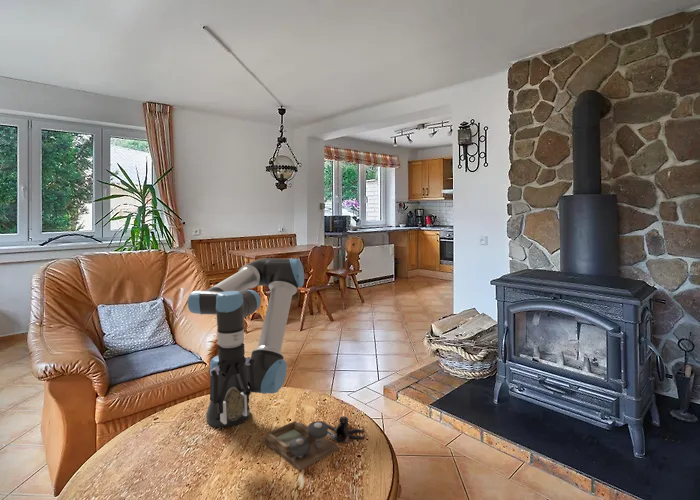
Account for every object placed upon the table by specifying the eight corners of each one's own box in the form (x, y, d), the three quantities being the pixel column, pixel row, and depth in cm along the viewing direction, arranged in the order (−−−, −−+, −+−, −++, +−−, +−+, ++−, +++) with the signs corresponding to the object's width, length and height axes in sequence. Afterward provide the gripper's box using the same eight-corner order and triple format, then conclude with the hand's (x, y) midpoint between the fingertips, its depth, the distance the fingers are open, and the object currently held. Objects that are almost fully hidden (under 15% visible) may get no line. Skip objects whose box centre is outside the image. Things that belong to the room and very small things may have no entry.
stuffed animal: (364, 442, 126) (333, 419, 127) (347, 464, 127) (317, 442, 128) (368, 422, 137) (339, 402, 138) (352, 443, 139) (324, 423, 140)
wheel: (304, 432, 123) (304, 424, 122) (319, 425, 127) (319, 417, 126) (316, 440, 118) (316, 431, 118) (331, 433, 122) (331, 424, 122)
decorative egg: (224, 426, 115) (223, 393, 114) (223, 416, 121) (221, 385, 120) (245, 422, 118) (244, 389, 117) (243, 412, 123) (241, 381, 122)
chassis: (262, 442, 128) (262, 424, 127) (300, 425, 138) (300, 408, 137) (299, 470, 113) (299, 450, 113) (338, 449, 123) (338, 431, 123)
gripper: (205, 355, 108) (208, 435, 110) (265, 339, 121) (267, 411, 123) (194, 348, 113) (197, 425, 115) (253, 334, 126) (255, 403, 128)
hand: (233, 418), depth 119 cm, fingers closed on decorative egg, 6 cm apart
